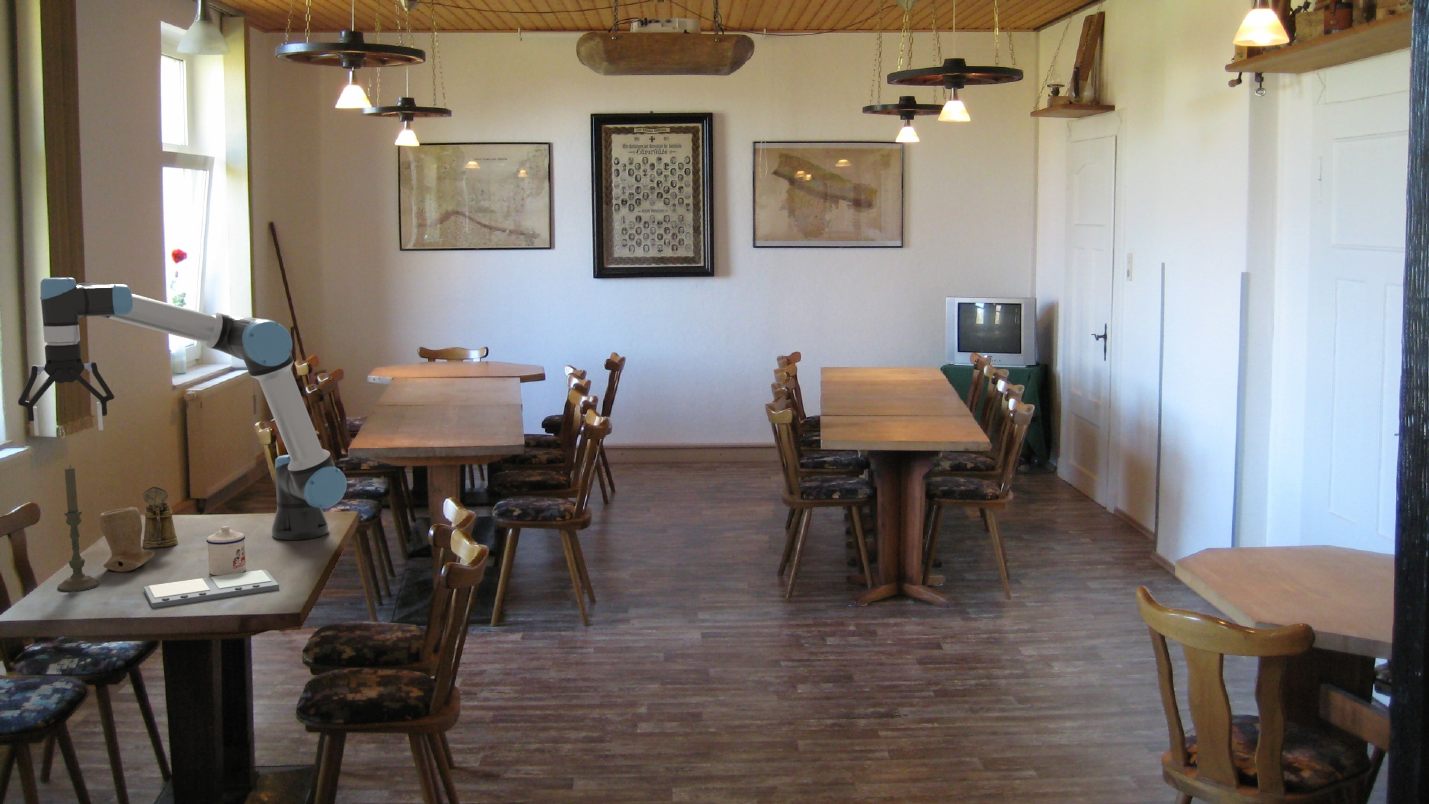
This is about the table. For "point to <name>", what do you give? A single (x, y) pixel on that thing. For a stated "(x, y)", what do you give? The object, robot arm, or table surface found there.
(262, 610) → the table surface
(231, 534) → the teacup with lid
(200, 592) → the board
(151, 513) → the wooden mug
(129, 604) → the table surface
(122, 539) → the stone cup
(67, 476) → the candlestick holder
